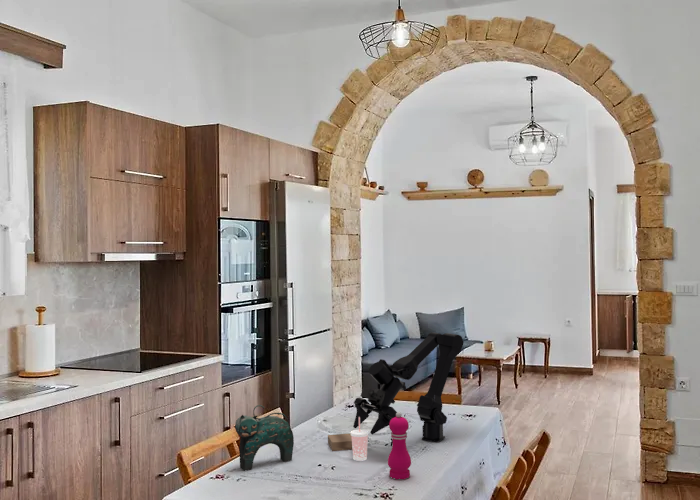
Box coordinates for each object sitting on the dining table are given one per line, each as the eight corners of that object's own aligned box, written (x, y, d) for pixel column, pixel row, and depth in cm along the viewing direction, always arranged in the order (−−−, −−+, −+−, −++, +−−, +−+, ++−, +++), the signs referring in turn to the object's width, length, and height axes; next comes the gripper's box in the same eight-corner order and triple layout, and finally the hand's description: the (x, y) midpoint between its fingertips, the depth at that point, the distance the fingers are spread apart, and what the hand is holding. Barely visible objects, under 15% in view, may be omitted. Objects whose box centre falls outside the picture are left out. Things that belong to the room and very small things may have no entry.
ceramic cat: (240, 473, 229) (239, 410, 229) (232, 467, 235) (231, 406, 234) (296, 461, 240) (295, 401, 239) (287, 456, 245) (286, 397, 245)
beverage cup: (367, 462, 238) (366, 419, 237) (349, 461, 239) (348, 419, 238) (370, 456, 244) (370, 414, 243) (352, 455, 245) (352, 414, 244)
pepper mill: (413, 473, 226) (413, 409, 226) (408, 481, 219) (407, 415, 219) (391, 471, 229) (390, 408, 228) (385, 479, 222) (384, 414, 221)
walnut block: (352, 441, 260) (352, 433, 260) (357, 449, 252) (357, 440, 251) (327, 443, 259) (327, 435, 259) (332, 451, 250) (332, 442, 250)
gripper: (357, 374, 252) (332, 410, 246) (392, 383, 237) (366, 422, 231) (375, 393, 257) (350, 429, 251) (410, 403, 242) (385, 442, 236)
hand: (362, 430), depth 242 cm, fingers open, 9 cm apart
